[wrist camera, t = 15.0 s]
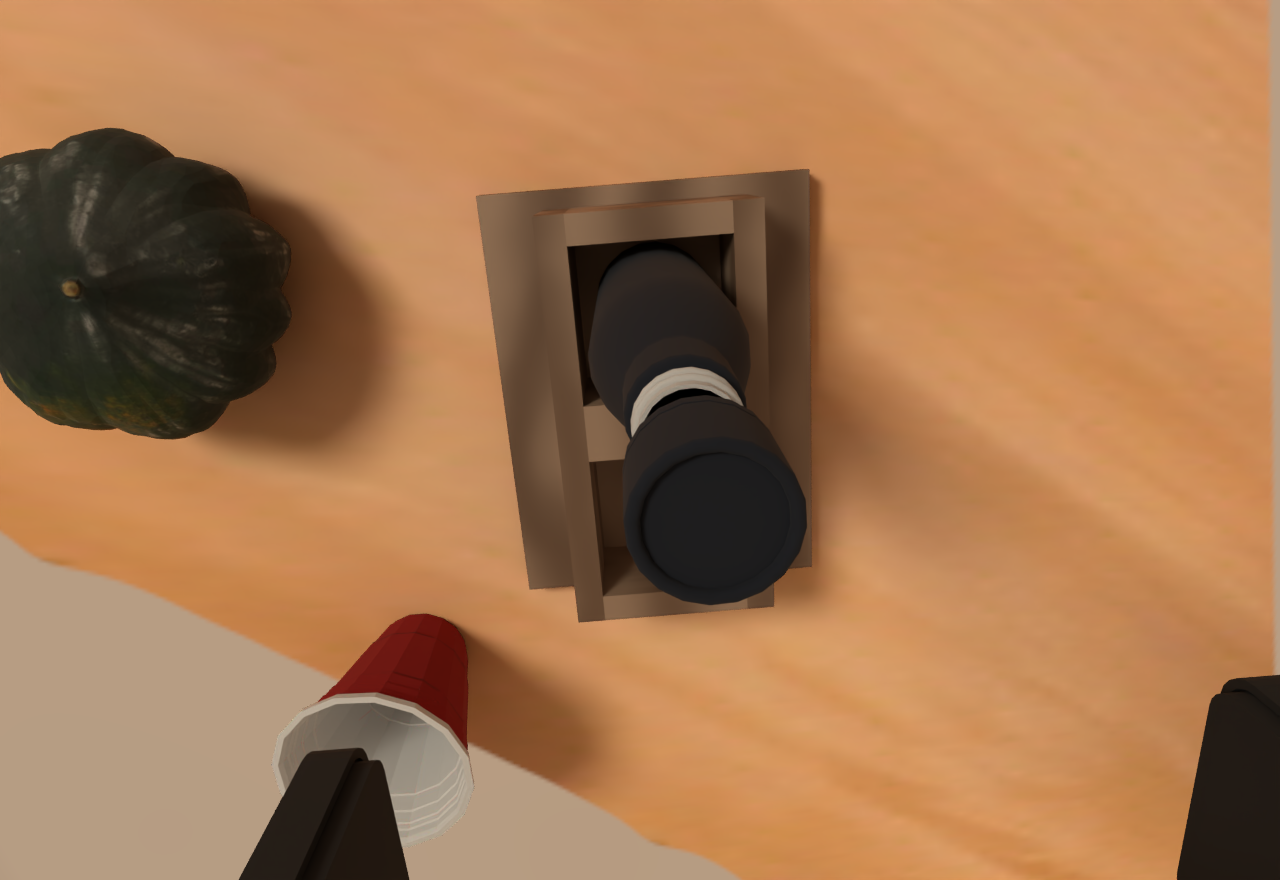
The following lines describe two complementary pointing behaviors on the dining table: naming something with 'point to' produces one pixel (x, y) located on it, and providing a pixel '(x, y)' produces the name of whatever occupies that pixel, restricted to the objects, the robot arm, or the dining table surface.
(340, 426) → the dining table surface
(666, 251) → the wine bottle
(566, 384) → the bottle rack
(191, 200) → the squash
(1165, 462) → the dining table surface
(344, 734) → the plastic cup
